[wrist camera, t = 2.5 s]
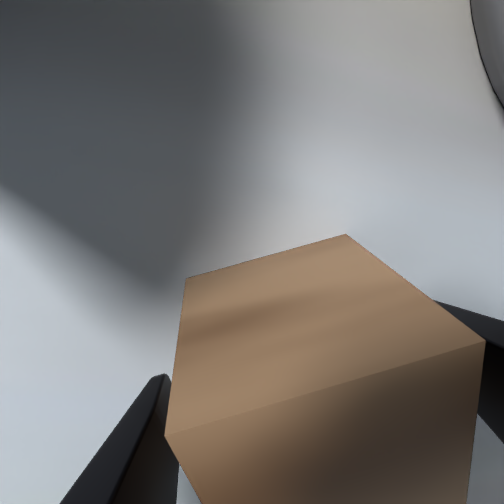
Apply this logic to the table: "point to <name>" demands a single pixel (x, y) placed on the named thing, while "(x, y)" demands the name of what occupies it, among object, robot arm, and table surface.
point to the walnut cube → (322, 384)
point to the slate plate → (491, 39)
